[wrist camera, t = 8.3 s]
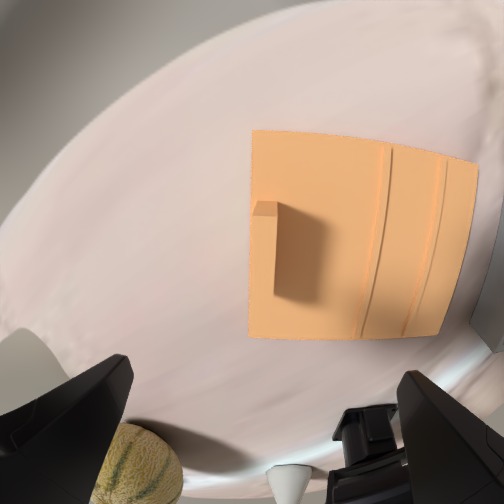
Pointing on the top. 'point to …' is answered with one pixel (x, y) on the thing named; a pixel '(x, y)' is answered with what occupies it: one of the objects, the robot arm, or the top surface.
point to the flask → (289, 482)
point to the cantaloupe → (138, 470)
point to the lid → (354, 237)
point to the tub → (492, 298)
